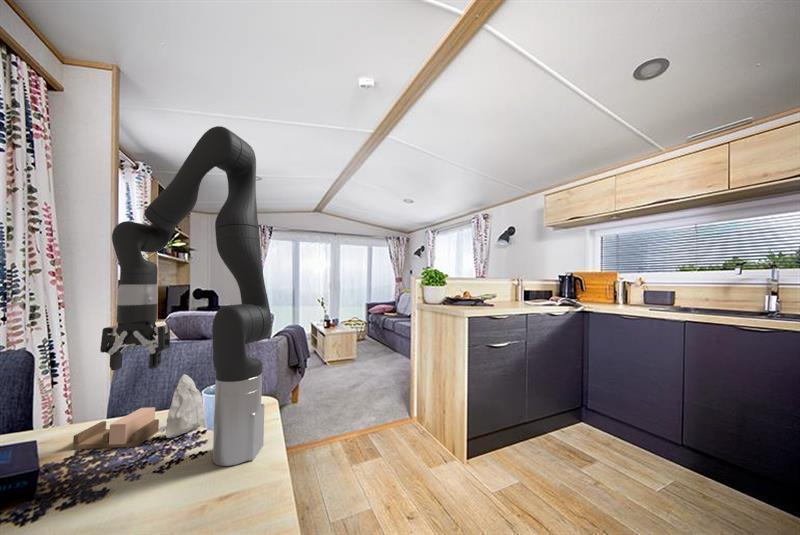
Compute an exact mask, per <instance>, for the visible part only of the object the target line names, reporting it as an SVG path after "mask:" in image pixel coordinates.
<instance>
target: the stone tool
mask: <svg viewBox="0 0 800 535" xmlns="http://www.w3.org/2000/svg"><path fill="white" fill-rule="evenodd" d="M201 393H202V392H200V390H199V389H197V387H196V383H195V381H194V380H193V379H192V377H190V376H189V375H187V374H185V373H184V374H182V376H181V377H180V378H179V381H178V383H177V386H176V387H175V390H174V392H173V396H172V399H171V405H170V408H169V410H168V413H167V418H166V426H165V438H167V439H171V438H176V437H177V436H181V435H183V434H188V433H189V432H190V431H192V430H196V429H198V428H200V427H201V426H202V425H203V423H204V421H205V419H204V417H205V409H204V408H205V406H204V407H203V404H204V397H203V396H202V394H201ZM202 397H203V398H202Z"/></svg>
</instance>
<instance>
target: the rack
mask: <svg viewBox="0 0 800 535" xmlns="http://www.w3.org/2000/svg"><path fill="white" fill-rule="evenodd" d="M159 425H160V419H156V418H155V420H153V421H152V422H150V423H148V424H147V425H145V426H144V427H142V428H140V429H139V430H137V431H135V432H134V433H132V440H130V441H129V442H127V443H126V444H112V445H109V433H110V428H108V429H107V421H106V420H103V421H100V422H97V423H96V424H94V425H92V426H90V427H88V428H86V429H84V430H82V431H80V432H78V433H76V434H75V435H73V438H72V439H73V440H72V450H86V449H91V450H92V449H110V448H111V449H113V448H114V449H115V448H131V447H138V446H140V444H142V443H144V442H145V441H146V440H148V439H149V438H151V437H153V436H154V435H155V434H157V433H158V432H159Z"/></svg>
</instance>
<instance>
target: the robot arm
mask: <svg viewBox="0 0 800 535" xmlns="http://www.w3.org/2000/svg"><path fill="white" fill-rule="evenodd" d="M214 168H218V169H219V170H221V171H223V172H225V176H226V178H227V187H228V190H227V193H228V194H227V197H226V200H225V202H224V204H223V205H222V207H221V208H220V209H219V211H218V213H217V216H216V218H215V224H214V225H215V226H214V230H215V231H214V232H215V243H216V249H217V250H216V251H217V253H218V255H219V256H220V258H221V260H222V262H223V263H224V265H225V267H226V268H227V269H228V270H229V272H230V273H231V275H232V276H233V278H234V279H235V281H236V284H237V286H238V289H239V295H240V301H241V303H240V304H238V303H237V304H229V305H224V306H222V307H220V308H219V309H218V310H217V311H216V313H215V315H214V318H213V322H212V328H211V330H212V333H211V334H212V363H213V367H214V370H215V388H214V390H215V391H214V392H215V393H214V414H213V440H212V441H213V442H212V443H213V444H212V462H213V463H214V465H216V466H221V467H222V466H223V467H229V466H234V465H235V466H236V465H240V464H242V463H244V462H247V461H254V459H255V458H256V456H257V455H258V454H259V452H260V450H261V449H262V448H263V447H264V435H265V433H264V431H265V403H262V393H263V392H262V391H263V390H262V389H263V387H262V384H263V361H262V360H261V359H260V358H258V357H252V356H251V357H250V356H248V355H247V352H246V345H247V344H248V345H249V344H252V343H257V342H261V341H263V340H265V339H266V338H267V337H268V336H269V334H270V332H271V328H272V315H271V307H270V303H269V297H268V293H267V289H266V284H265V277H264V271H263V263H262V262H263V260H262V254H261V252H262V251H261V236H260V228H259V227H260V226H259V221H258V219H259V218H258V207H257V197H256V195H257V194H256V193H257V191H256V190H257V189H256V188H257V186H256V184H257V183H256V180H257V178H256V177H257V158H256V154H255V150H254V149H253V148H252V145H250V144H249V143H248V142H247V141H245V140H244V139H242V138H241V137H240V136H239V135H237V134H236V133H234V132H233V131H232V130H230V129H229V128H227V127H225V126H222V125H220V126H219V125H217V126H213V127H211V128H209V129H207V130H206V131H205V132H204V133H203V135H201V137H200V138H199V139H198V141H197V142H196V143H195V145H194V147H193V148H192V150H191V151H190V153H189V155H187V157H186V158H185V160H184V161H183V163H182V165H181V167H180V168H179V170H178V171H177V173H176V174H175V176H174V177H173V178H172V180H171V182H169V184H168V185H167V186H166V187H165V188H164V189H163V190H162V192H160V193H159V195H158V196H156V198H155V199H154V200H152V201H151V203H150V204H149V205H147V206H146V208H145V210H144V217H145V218H146V219H147V221H148V222H150V223H151V224H150V225H149V224H145V223H140V222H135V221H122V222H120V223H118V224H117V225H115V227H114V229H113V231H112V233H111V242H112V246H113V250H114V252H115V255H116V259H117V262H118V265H119V268H120V269H119V270H120V274H119V288H118V292H117V300H116V302H117V304H116V323H117V324H118V325H117V326H115V325H114V326H107V327H104V328H102V330H101V331H102V332H101V333H102V334H101V342H100V348H99V349H100V353H105V354H106V353H107V354H108V355H109V368H110V370H111V371H118V370H121V369H122V368H123V354H124V353H123V351H124V349H125V348H126V347H127V346H129V345H142V346H143V347H144V348H146V349H147V350H148V351H149V352H150V353H149V359H148V360H149V361H148V363H149V364H148V368H149V370H155V369H156V368H157V369H158V367H159V366H161V362H162V361H161V360H162V352H163V351H165V350H168V349H170V348H171V327H170V325H168V324H166V325H160V326H157V325H156V322H157V319H158V302H159V300H158V299H159V291H158V290H159V289H158V272H159V271H158V265H157V264H156V263H155V262H153V261H149V260H147V259H145V258H144V255H143V254H142V253H150V254H151V253H157V252H160V251H162V250H163V249H164V248H165V247H167V246H168V244H169V242H170V241H171V238H172V236H173V234H174V232H175V230H176V227H177V226H178V225H179V224H180V223H181V222H182V221H183V220H184V219H185V218H186V217H188V215H189V214H190V213H191V212H192V211H193V210H194V209H195V206H196V204H197V201H198V196H199V191H200V186H201V183H202V181H203V179H204V178H205V176H206V175H207V174H208V173H209V172H210V171H212V170H213V169H214ZM155 334H156V335H157V337H156V336H155ZM117 335H118V337H116V336H117ZM116 338H117V339H116Z"/></svg>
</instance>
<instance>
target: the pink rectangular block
mask: <svg viewBox="0 0 800 535" xmlns="http://www.w3.org/2000/svg"><path fill="white" fill-rule="evenodd" d="M155 419H156V406H155V407H154V406H153V407H140V408H138V409H137V410H134V411H133V412H130V413H129V414H127V415H125V416H123V417H121V418H120V419H118V420H116V421H114V422H112V423H110V424H109V429H110V433H109V445H112V444H126V443H127V442H129V441H130V440H132V433H134V432H135V431H137V430H139V429H140V428H142V427H144V426H145V425H147V424H148V423H150V422H152V421H153V420H155Z"/></svg>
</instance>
